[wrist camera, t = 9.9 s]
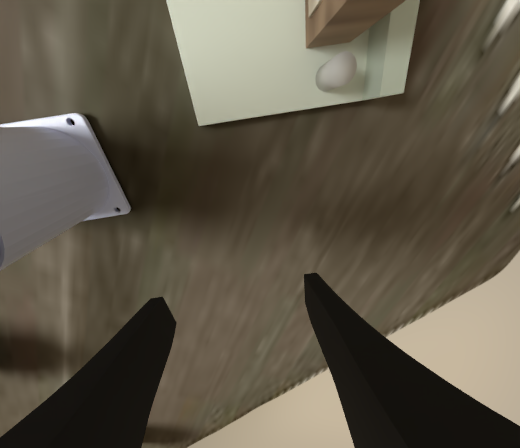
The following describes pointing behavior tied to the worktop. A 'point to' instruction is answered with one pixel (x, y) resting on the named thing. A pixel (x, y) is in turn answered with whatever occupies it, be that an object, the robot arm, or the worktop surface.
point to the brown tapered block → (342, 19)
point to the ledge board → (283, 58)
